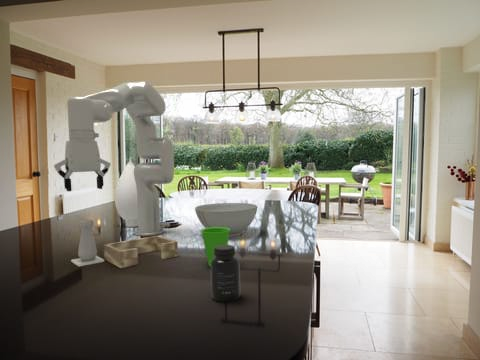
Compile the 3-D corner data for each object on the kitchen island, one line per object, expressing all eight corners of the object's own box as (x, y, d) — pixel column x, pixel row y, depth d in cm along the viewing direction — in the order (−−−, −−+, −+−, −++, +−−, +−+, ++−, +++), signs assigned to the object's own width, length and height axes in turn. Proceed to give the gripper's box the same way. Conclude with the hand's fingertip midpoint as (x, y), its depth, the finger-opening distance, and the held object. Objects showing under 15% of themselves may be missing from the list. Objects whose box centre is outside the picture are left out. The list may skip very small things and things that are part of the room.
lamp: (139, 221, 200) (136, 156, 198) (154, 225, 188) (152, 155, 186) (110, 225, 189) (107, 156, 187) (124, 229, 178) (121, 155, 176)
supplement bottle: (211, 292, 91) (209, 244, 91) (239, 291, 92) (238, 242, 91) (211, 303, 84) (210, 251, 84) (241, 301, 85) (240, 249, 84)
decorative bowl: (184, 239, 154) (183, 209, 153) (212, 227, 179) (212, 202, 178) (244, 243, 144) (243, 211, 143) (266, 230, 169) (265, 203, 168)
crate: (158, 249, 138) (158, 235, 137) (178, 256, 127) (177, 241, 126) (104, 259, 125) (103, 244, 125) (120, 268, 114) (119, 251, 114)
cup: (235, 262, 118) (234, 227, 117) (224, 270, 109) (223, 233, 108) (209, 260, 121) (208, 226, 120) (196, 268, 112) (195, 231, 111)
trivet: (95, 257, 128) (95, 255, 128) (104, 261, 122) (104, 259, 122) (71, 261, 123) (71, 259, 123) (78, 266, 117) (78, 264, 117)
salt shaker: (90, 262, 119) (88, 221, 118) (74, 261, 120) (72, 221, 119) (100, 257, 125) (99, 218, 124) (85, 256, 126) (83, 218, 125)
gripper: (104, 137, 129) (107, 187, 130) (49, 137, 118) (52, 191, 119) (112, 136, 123) (115, 188, 124) (55, 135, 112) (59, 192, 113)
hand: (84, 189), depth 121 cm, fingers open, 9 cm apart
